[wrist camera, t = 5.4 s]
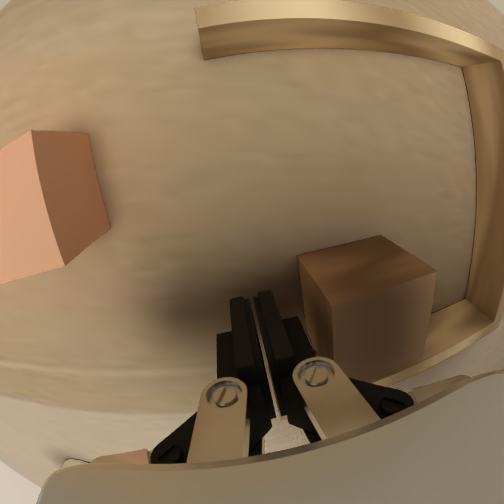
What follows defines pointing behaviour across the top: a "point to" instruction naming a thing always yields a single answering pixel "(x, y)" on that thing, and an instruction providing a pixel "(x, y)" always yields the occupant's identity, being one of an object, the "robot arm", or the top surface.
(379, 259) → the walnut block
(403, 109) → the top surface
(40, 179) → the terracotta block
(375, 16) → the tan u-shaped piece
